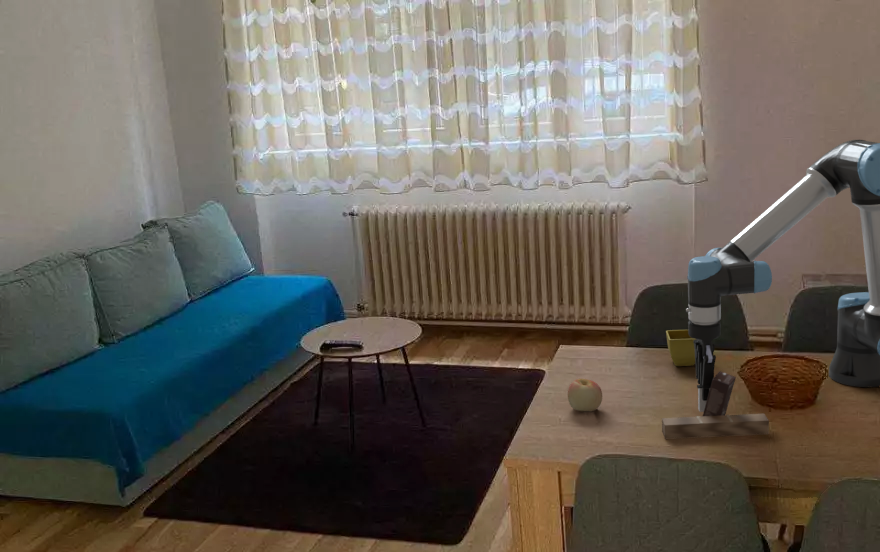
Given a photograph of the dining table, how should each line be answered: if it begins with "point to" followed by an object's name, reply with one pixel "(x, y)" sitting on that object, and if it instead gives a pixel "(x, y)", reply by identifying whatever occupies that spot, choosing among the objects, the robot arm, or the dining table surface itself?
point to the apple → (584, 395)
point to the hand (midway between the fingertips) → (704, 410)
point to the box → (719, 394)
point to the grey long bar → (715, 426)
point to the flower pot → (681, 347)
